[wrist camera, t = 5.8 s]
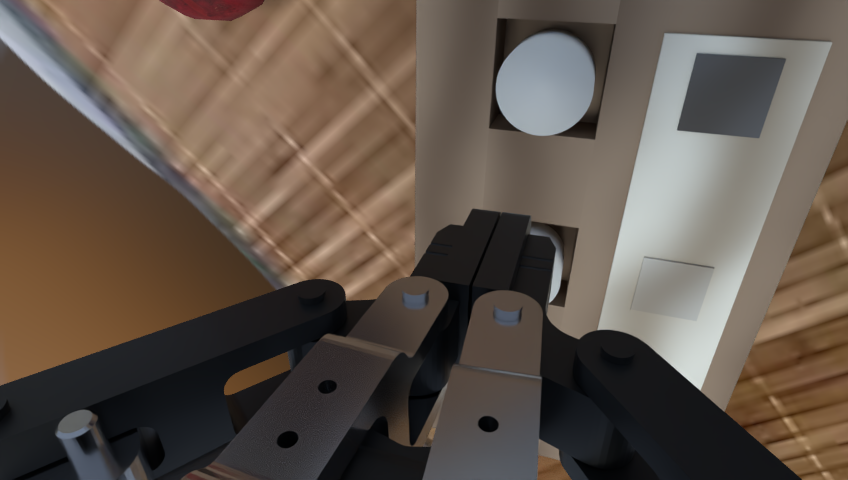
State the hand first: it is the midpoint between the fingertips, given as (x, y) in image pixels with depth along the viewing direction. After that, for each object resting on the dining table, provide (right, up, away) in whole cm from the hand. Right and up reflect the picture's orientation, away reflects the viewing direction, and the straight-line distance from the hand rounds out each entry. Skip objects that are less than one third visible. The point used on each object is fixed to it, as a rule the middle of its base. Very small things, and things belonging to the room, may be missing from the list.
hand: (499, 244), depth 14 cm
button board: (+6, 0, +13) cm, 15 cm away
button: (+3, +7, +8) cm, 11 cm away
